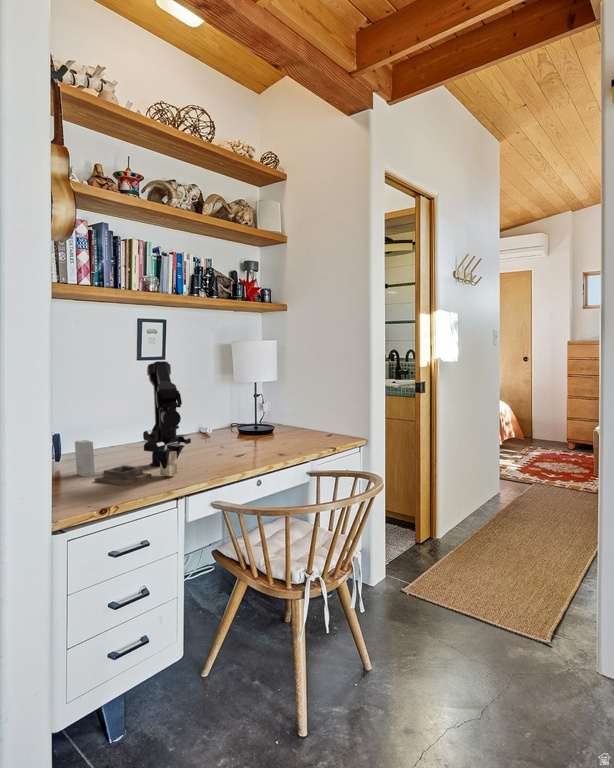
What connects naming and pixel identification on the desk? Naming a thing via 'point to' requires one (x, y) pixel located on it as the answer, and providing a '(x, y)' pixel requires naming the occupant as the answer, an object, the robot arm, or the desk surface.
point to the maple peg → (170, 465)
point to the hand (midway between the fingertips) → (168, 467)
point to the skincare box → (84, 458)
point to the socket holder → (123, 475)
